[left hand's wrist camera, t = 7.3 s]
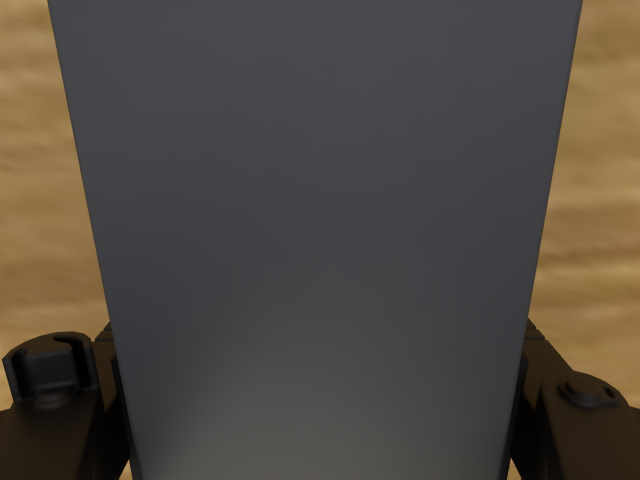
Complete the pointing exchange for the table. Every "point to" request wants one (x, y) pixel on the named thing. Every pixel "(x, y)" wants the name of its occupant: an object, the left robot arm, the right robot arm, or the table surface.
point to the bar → (317, 224)
